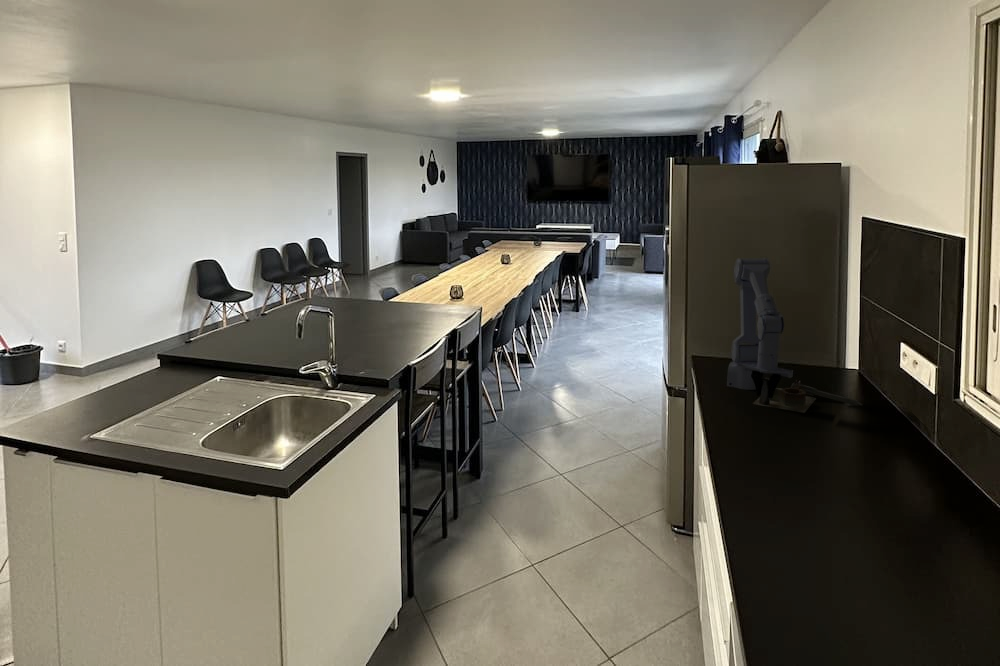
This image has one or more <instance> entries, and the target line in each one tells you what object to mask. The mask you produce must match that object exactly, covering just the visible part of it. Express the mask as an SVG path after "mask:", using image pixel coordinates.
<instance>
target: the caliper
mask: <svg viewBox="0 0 1000 666" xmlns="http://www.w3.org/2000/svg"><path fill="white" fill-rule="evenodd" d="M799 384H801V387H800V389H802V390H804V391H806V396H808V397H814V398H815V396H818V397H822V398H826V399H830V400H834V401H837V402H841V403H845V404H847V405H848V404H849V405H853V406H856V407H857V406H863V403H861V402H859V400H857V399H853V398H850V397H844V396H841V395H837V394H833V393H830V392H826V391H822V390H820V389H819V390H818V389H817V387H812V386H808V385H805V384H803V383H801V380H799V381H797V379H796V380H795V381H794V382H792V384H791V385H790V386H791V387H790V388H795V387H796V386H800V385H799ZM802 384H803V385H802Z"/></svg>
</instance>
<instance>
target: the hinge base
mask: <svg viewBox="0 0 1000 666" xmlns="http://www.w3.org/2000/svg"><path fill="white" fill-rule="evenodd" d="M801 384H802V385H804V384H803V383H800V384H799V385H800V386H796V387H795V388H791V387H782V388H780V387H779V388H778V387H776V389H775V391H774V395H773V397H772V398H770V404H769V405H761V404H759V399H760V396H758V398H757V399H756V400H755V401H753V402H752V405H756V406H762V407H763V406H764V407H770V408H774V409H781V410H785V411H792V412H796V413H797V412H798V413H806V411H808V409H809V408H810V407H811V406H812V405H813V403H815V401H816V400H817V397H815V396H814V397H812V396H808V395H807V394H806V391H804V390H802V389H800V387H801Z"/></svg>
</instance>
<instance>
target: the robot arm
mask: <svg viewBox="0 0 1000 666" xmlns="http://www.w3.org/2000/svg"><path fill="white" fill-rule="evenodd" d="M733 270H734V271H733V272H734V273H733V276H734V279H733V280H734V283H735V285H737V286H739V297H740V298H739V303H740V304H739V305H740V306H739V307H740V335H738V336H737V337H736V338H734V339H733V340H732V343H731V344H732V345H731V352H730V356H731V359H732V361H730V362H729V364H728V368H727V374H726V375H727V379H726V387H730V388H736V389H739V390H746V391H753V390H756V391H755V392H756V396H757V397H760V386H761V378H764V374H766V375H771V376H769V378H770V392H769V398H772V397H773V395H774V391H775V389H776V388H777V386H778V385H779V382H780V380H781V379H782V378H783V377H786V378H789V379H792V378H793V376H794V370H793V369H786V368H783V367H778V363H779V350H780V340H781V334H783V332H784V330H785V320H784V315H782V314H781V313H780V312H779V311H778V308H777V305H776V301H775V299H774V296H772V295H770V293H769V288H768V283H767V279H768V276H769V274H770V270H771V265H770V261H769V260H768V258H767V257H764V258H741V257H738V258H737V259H736V260H735V263H734V268H733ZM757 318H758V319H757Z"/></svg>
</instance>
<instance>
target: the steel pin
mask: <svg viewBox="0 0 1000 666" xmlns="http://www.w3.org/2000/svg"><path fill="white" fill-rule="evenodd" d="M769 392H770V377H763V378H761V386H760V396H759V397H760V399H759V404H761V405H760V406H762V405H769V404H770V398H769Z"/></svg>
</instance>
